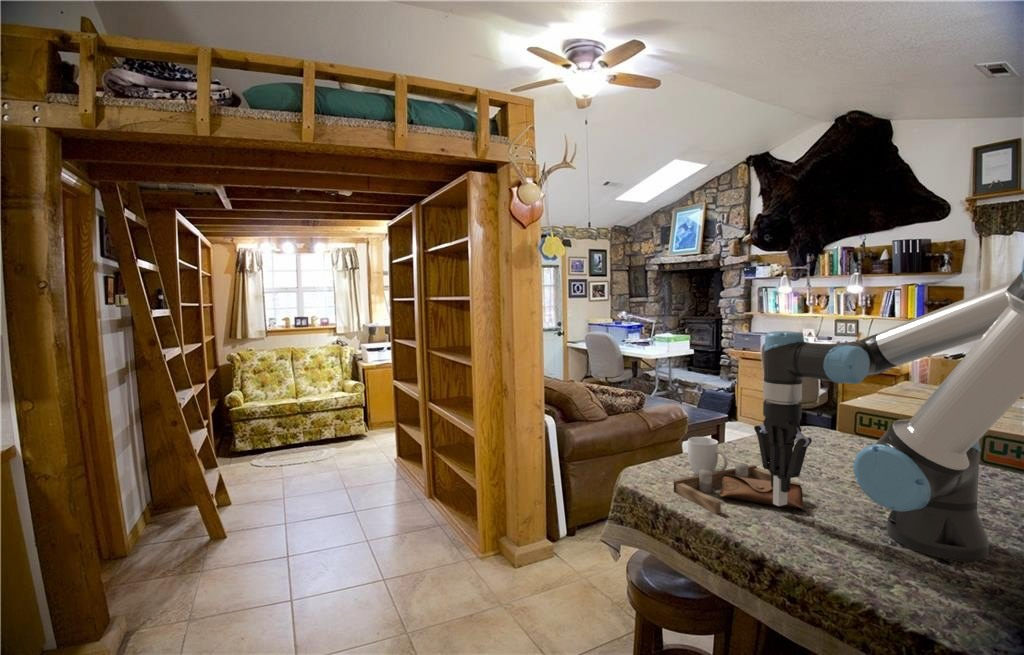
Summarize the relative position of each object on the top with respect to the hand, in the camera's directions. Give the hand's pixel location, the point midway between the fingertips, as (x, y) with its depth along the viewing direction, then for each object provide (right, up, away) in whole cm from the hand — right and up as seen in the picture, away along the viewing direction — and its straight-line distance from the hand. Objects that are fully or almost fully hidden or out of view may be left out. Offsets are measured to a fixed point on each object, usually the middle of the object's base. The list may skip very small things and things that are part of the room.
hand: (780, 503), depth 110 cm
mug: (-7, -1, +24) cm, 25 cm away
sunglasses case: (-2, -3, +5) cm, 6 cm away
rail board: (-4, -2, +12) cm, 13 cm away
